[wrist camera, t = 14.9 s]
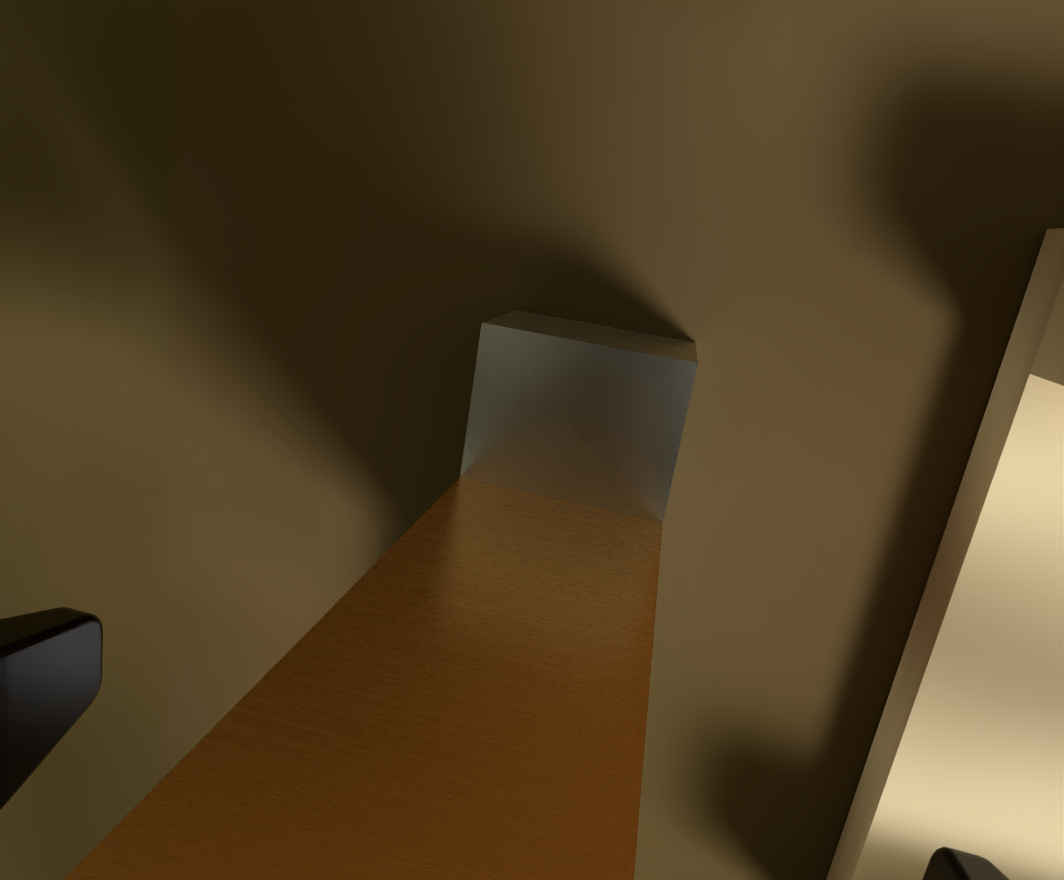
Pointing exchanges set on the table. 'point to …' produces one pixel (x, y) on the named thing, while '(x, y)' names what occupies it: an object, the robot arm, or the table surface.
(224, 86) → the table surface
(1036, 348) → the slotted block
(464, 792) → the grey-ended wooden block
